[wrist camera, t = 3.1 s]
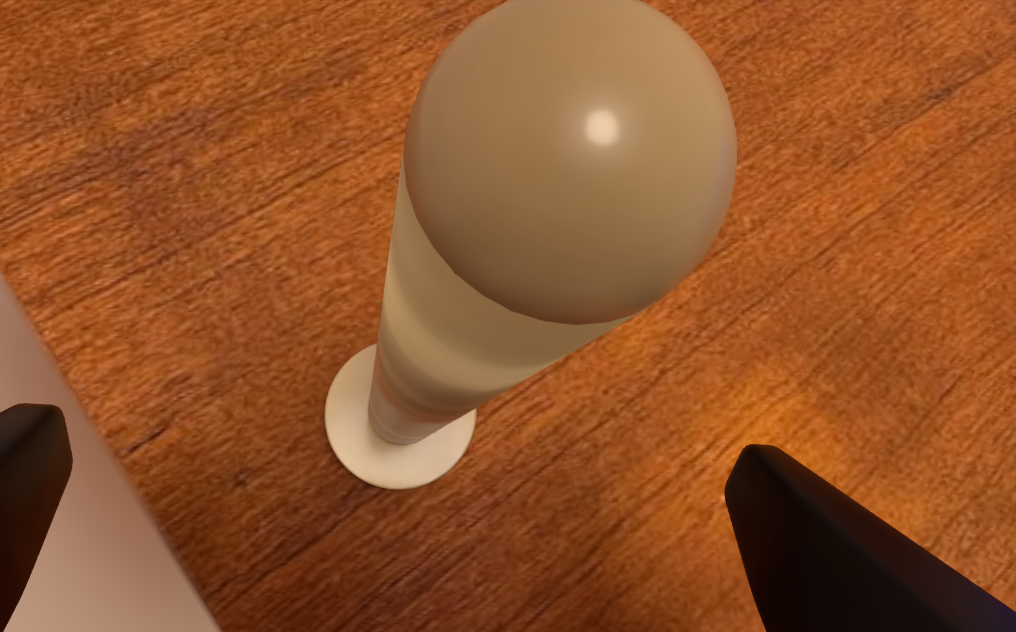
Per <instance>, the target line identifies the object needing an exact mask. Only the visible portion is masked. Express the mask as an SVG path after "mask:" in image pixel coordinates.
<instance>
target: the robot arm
mask: <svg viewBox="0 0 1016 632" xmlns="http://www.w3.org/2000/svg"><path fill="white" fill-rule="evenodd" d="M72 463H73V458H72V451H71V447H70V442H69V437H68V433H67V427H66V423H65V418H64V415H63V412H62V410H61V409H60V408H59V407H57V406H55V405H46V404H29V403H23V404H17V405H15V406H12V407H10V408H8V409H6V410H4V411H3V412H1V413H0V632H3V631H4V629H5V627H6V625H7V624H8V622H9V619H10V618H11V616H12V614H13V612H14V610H15V608H16V606H17V604H18V602H19V600H20V598H21V596H22V594H23V591H24V589H25V587H26V584H27V582H28V580H29V578H30V575H31V573H32V570H33V568H34V565H35V562H36V560H37V557H38V555H39V553H40V550H41V548H42V545H43V543H44V540H45V538H46V535H47V533H48V530H49V528H50V525H51V523H52V520H53V518H54V515H55V512H56V510H57V507H58V505H59V502H60V500H61V497H62V495H63V492H64V490H65V487H66V485H67V482H68V480H69V477H70V474H71V470H72ZM725 501H726V505H727V508H728V512H729V515H730V519H731V522H732V526H733V530H734V533H735V537H736V540H737V544H738V547H739V551H740V554H741V558H742V561H743V565H744V568H745V572H746V575H747V579H748V582H749V585H750V588H751V592H752V595H753V598H754V601H755V603H756V606H757V609H758V612H759V614H760V617H761V619H762V622H763V624H764V627H765V630H766V632H1016V612H1015V611H1013V610H1012V609H1011V608H1009V607H1008V606H1006V605H1005V604H1003V603H1002V602H1000V601H999V600H998V599H996V598H995V597H993V596H992V595H990V594H989V593H987V592H986V591H984V590H983V589H982V588H980V587H979V586H977V585H976V584H974V583H973V582H971V581H970V580H969V579H967V578H966V577H964V576H963V575H961V574H960V573H958V572H957V571H956V570H954V569H953V568H951V567H950V566H948V565H947V564H945V563H944V562H943V561H941V560H940V559H938V558H937V557H935V556H934V555H932V554H931V553H930V552H928V551H927V550H925V549H924V548H922V547H921V546H919V545H918V544H916V543H915V542H914V541H912V540H911V539H909V538H908V537H906V536H905V535H903V534H902V533H901V532H899V531H898V530H896V529H895V528H893V527H892V526H890V525H889V524H888V523H886V522H885V521H883V520H882V519H880V518H879V517H877V516H876V515H875V514H873V513H872V512H870V511H869V510H867V509H866V508H864V507H863V506H862V505H860V504H859V503H857V502H856V501H854V500H853V499H851V498H850V497H849V496H847V495H846V494H844V493H843V492H841V491H840V490H838V489H837V488H836V487H834V486H833V485H831V484H830V483H828V482H827V481H825V480H824V479H823V478H821V477H820V476H818V475H817V474H815V473H814V472H812V471H811V470H810V469H808V468H807V467H805V466H804V465H802V464H801V463H799V462H798V461H797V460H795V459H794V458H792V457H791V456H789V455H788V454H786V453H785V452H783V451H782V450H781V449H779V448H777V447H775V446H772V445H760V444H750V445H747V446H746V447H745V448H743V450H742V451H741V453H740V455H739V457H738V459H737V461H736V463H735V466H734V468H733V470H732V472H731V474H730V476H729V478H728V480H727V482H726V485H725Z"/></svg>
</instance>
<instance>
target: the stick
mask: <svg viewBox="0 0 1016 632" xmlns="http://www.w3.org/2000/svg"><path fill="white" fill-rule="evenodd" d="M736 167H737V133H736V129H735V124H734V120H733V116H732V111H731V107H730V104H729V101H728V97H727V94H726V92H725V90H724V87H723V85H722V82H721V80H720V78H719V75H718V73H717V71H716V69H715V68H714V66H713V65H712V63H711V62H710V60H709V58H708V57H707V55H706V54H705V52H704V51H703V50H702V48H701V47H700V46H699V45H698V44H697V43H696V42H695V41H694V39H693V38H692V37H691V36H690V35H689V34H688V33H687V32H686V31H685V30H684V29H683V28H681V27H680V26H679V25H678V24H677V23H675V22H674V21H673V20H672V19H671V18H669V17H668V16H667V15H665V14H663V13H662V12H660V11H658V10H657V9H655V8H653V7H652V6H650V5H648V4H647V3H644V2H642V1H640V0H508V1H506V2H504V3H503V4H501V5H499V6H497V7H495V8H494V9H492V10H490V11H489V12H487V13H485V14H484V15H482V16H480V17H479V18H477V19H475V20H474V21H472V22H470V23H469V24H468V25H467V26H466V27H465V28H464V29H463V30H462V31H461V32H460V33H459V34H458V35H457V36H456V37H455V38H454V39H453V40H452V41H451V42H450V43H449V44H448V45H447V46H446V48H445V49H444V50H443V51H442V52H441V54H440V55H439V56H438V57H437V59H436V60H435V62H434V64H433V65H432V67H431V68H430V70H429V71H428V73H427V74H426V76H425V78H424V79H423V81H422V83H421V86H420V89H419V92H418V94H417V97H416V100H415V103H414V105H413V107H412V110H411V113H410V117H409V120H408V123H407V126H406V133H405V140H404V146H403V154H402V161H401V168H400V176H399V183H398V191H397V198H396V206H395V213H394V221H393V228H392V235H391V243H390V250H389V258H388V265H387V273H386V280H385V288H384V295H383V302H382V310H381V317H380V325H379V332H378V340H377V343H375V344H372V345H370V346H368V347H366V348H364V349H362V350H361V351H359V352H358V353H356V354H355V355H354V356H352V357H351V358H350V359H349V360H348V361H347V362H346V363H345V364H344V365H343V367H342V368H341V369H340V370H339V372H338V373H337V375H336V376H335V378H334V380H333V382H332V384H331V386H330V388H329V392H328V395H327V398H326V404H325V428H326V432H327V436H328V440H329V442H330V445H331V447H332V449H333V451H334V453H335V454H336V456H337V458H338V459H339V460H340V461H341V463H342V464H343V465H344V466H345V467H346V468H347V469H348V470H349V471H350V472H351V473H352V474H354V475H355V476H356V477H358V478H359V479H361V480H363V481H365V482H367V483H369V484H372V485H374V486H377V487H381V488H386V489H394V490H403V489H412V488H418V487H421V486H424V485H427V484H429V483H431V482H433V481H436V480H437V479H439V478H440V477H442V476H444V475H445V474H446V473H447V472H449V471H450V470H451V469H452V468H453V467H454V466H455V465H456V464H457V463H458V462H459V461H460V459H461V458H462V456H463V455H464V454H465V452H466V450H467V448H468V446H469V444H470V442H471V439H472V437H473V434H474V429H475V425H476V408H477V407H479V406H481V405H482V404H484V403H486V402H488V401H489V400H491V399H493V398H494V397H496V396H498V395H500V394H501V393H503V392H505V391H506V390H508V389H510V388H512V387H513V386H515V385H517V384H518V383H520V382H522V381H524V380H525V379H527V378H529V377H530V376H532V375H534V374H536V373H537V372H539V371H541V370H542V369H544V368H546V367H548V366H549V365H551V364H553V363H554V362H556V361H558V360H560V359H561V358H563V357H565V356H566V355H568V354H570V353H571V352H573V351H575V350H577V349H578V348H580V347H582V346H583V345H585V344H587V343H589V342H590V341H592V340H594V339H595V338H597V337H599V336H601V335H602V334H604V333H606V332H607V331H609V330H611V329H613V328H614V327H616V326H618V325H619V324H621V323H623V322H625V321H626V320H628V319H630V318H631V317H633V316H635V315H637V314H638V313H640V312H642V311H643V310H645V309H647V308H648V307H650V306H652V305H653V304H655V303H656V302H658V301H660V300H661V299H663V298H664V297H665V296H666V295H667V294H668V293H670V292H671V291H672V290H673V289H674V288H676V286H677V285H678V284H679V283H680V282H682V281H683V280H684V279H685V278H686V277H687V276H688V275H689V274H690V273H691V272H693V271H694V270H695V269H696V267H697V266H698V265H699V263H700V262H701V260H702V259H703V257H704V256H705V254H706V253H707V252H708V250H709V249H710V247H711V246H712V244H713V242H714V240H715V238H716V236H717V235H718V233H719V231H720V229H721V227H722V224H723V222H724V219H725V217H726V214H727V212H728V209H729V207H730V204H731V199H732V193H733V187H734V181H735V174H736Z"/></svg>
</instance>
